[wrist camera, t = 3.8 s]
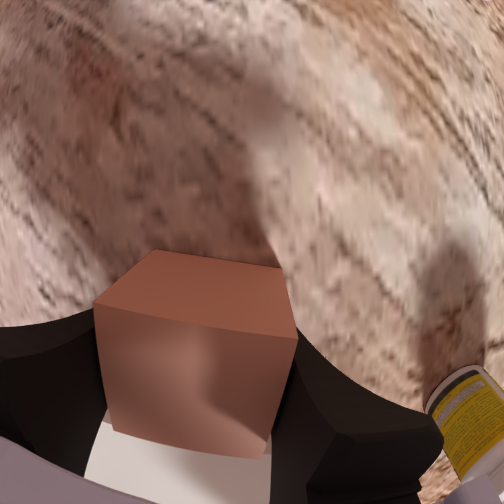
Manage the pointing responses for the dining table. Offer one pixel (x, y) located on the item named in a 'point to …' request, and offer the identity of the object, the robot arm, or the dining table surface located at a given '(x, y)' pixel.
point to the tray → (176, 471)
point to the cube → (196, 352)
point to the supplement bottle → (471, 424)
